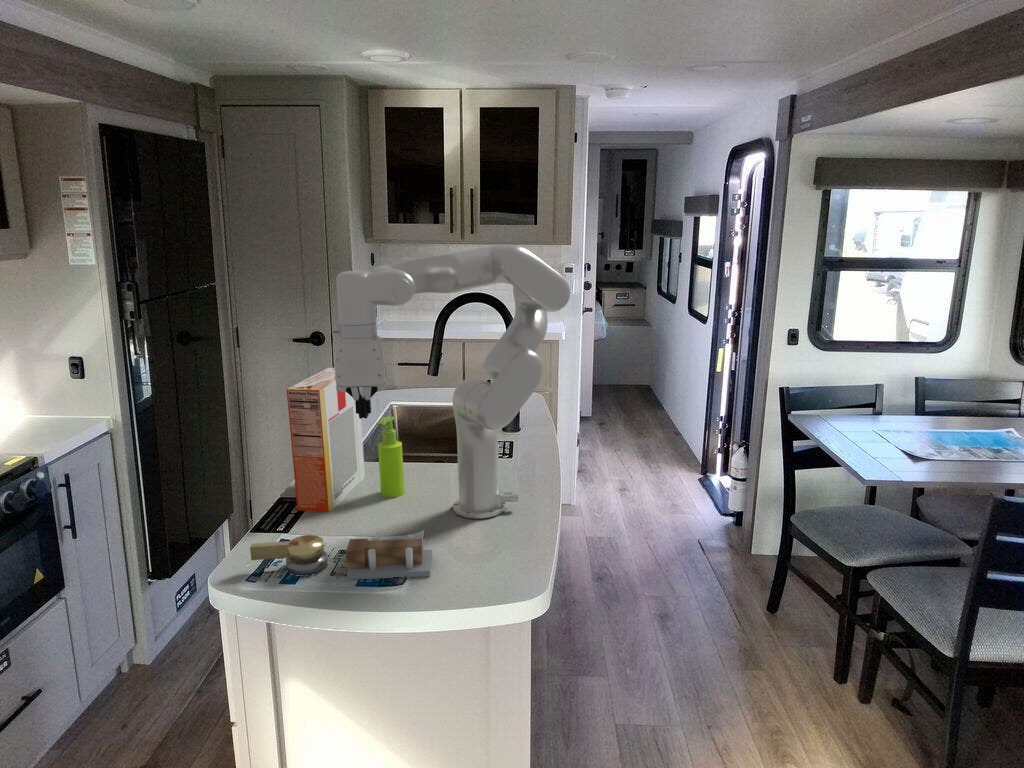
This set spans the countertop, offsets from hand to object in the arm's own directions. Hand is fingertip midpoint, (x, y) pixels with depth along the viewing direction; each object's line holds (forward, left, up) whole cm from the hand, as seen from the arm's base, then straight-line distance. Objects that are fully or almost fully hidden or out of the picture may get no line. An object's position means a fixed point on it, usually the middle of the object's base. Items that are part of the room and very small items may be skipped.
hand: (363, 416), depth 153 cm
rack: (-6, +16, -27) cm, 32 cm away
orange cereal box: (+13, -25, -27) cm, 39 cm away
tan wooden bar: (-5, +16, -26) cm, 31 cm away
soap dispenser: (-2, -23, -27) cm, 36 cm away
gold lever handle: (+14, +14, -25) cm, 32 cm away
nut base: (+13, +14, -27) cm, 33 cm away
